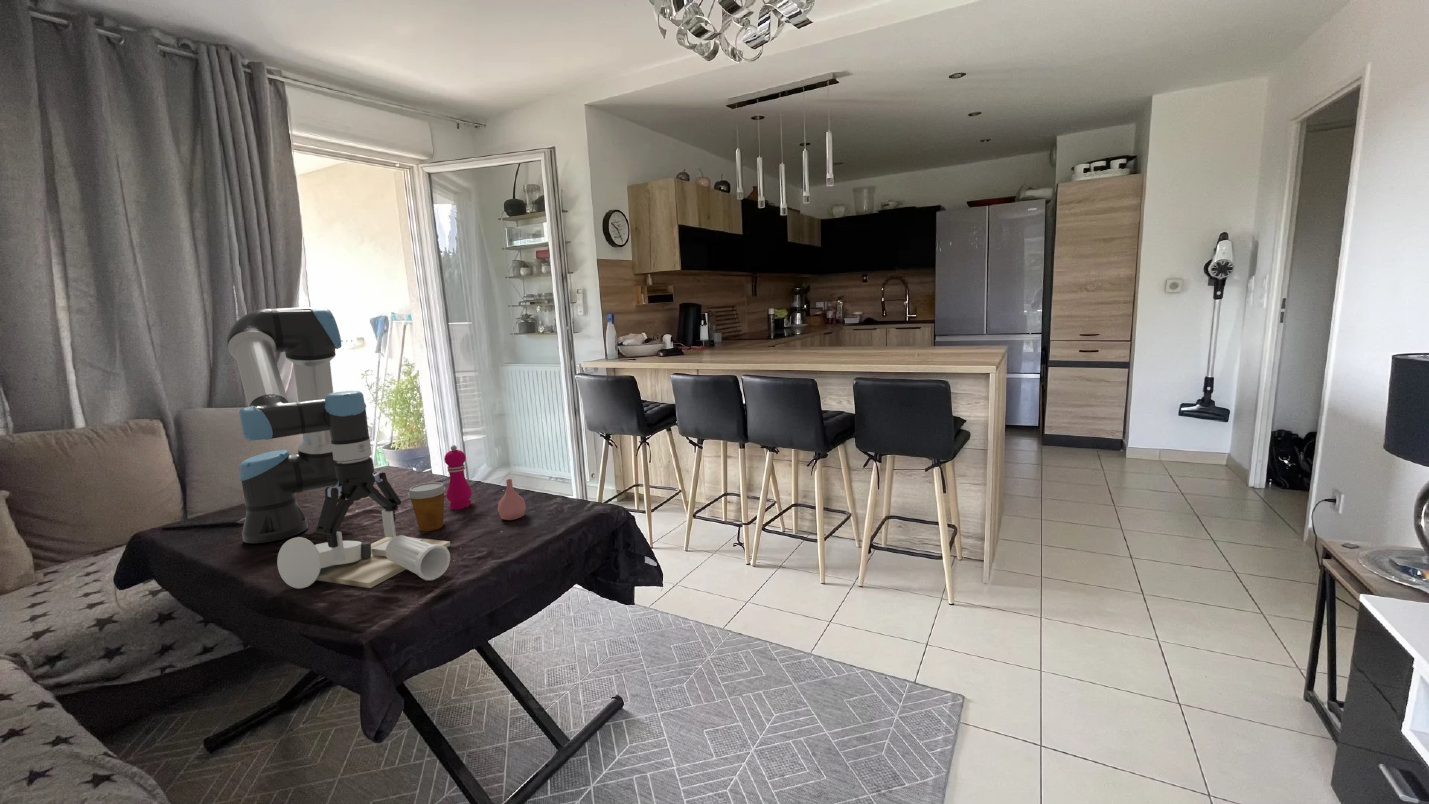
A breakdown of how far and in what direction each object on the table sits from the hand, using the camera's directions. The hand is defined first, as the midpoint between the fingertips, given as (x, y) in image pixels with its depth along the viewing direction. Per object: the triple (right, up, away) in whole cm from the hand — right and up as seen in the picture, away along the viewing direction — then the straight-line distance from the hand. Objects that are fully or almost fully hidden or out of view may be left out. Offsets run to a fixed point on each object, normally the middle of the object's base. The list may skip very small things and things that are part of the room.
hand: (366, 547), depth 138 cm
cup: (+6, -1, +2) cm, 6 cm away
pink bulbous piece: (+23, 0, +33) cm, 40 cm away
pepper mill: (+2, +1, +46) cm, 46 cm away
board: (-1, -5, +7) cm, 9 cm away
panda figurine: (-12, -2, -6) cm, 13 cm away
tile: (-2, -2, +12) cm, 12 cm away
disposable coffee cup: (+1, -2, +30) cm, 30 cm away
